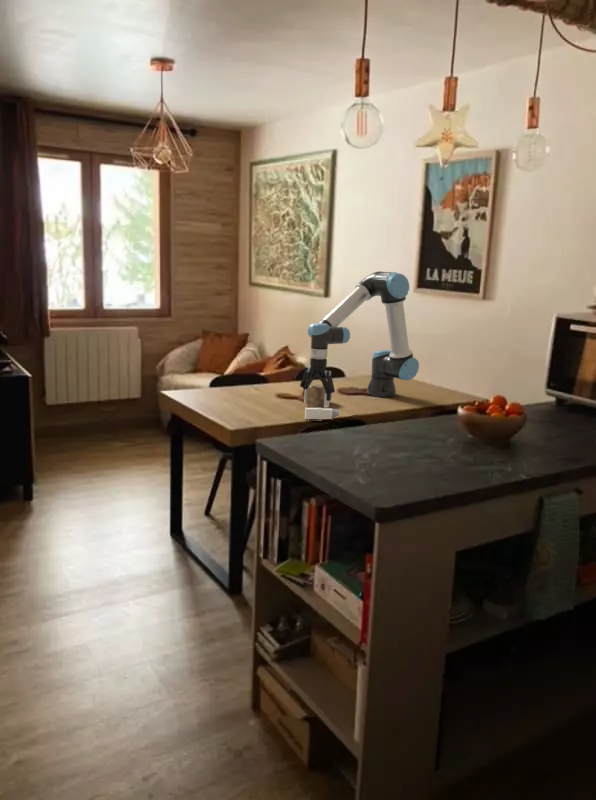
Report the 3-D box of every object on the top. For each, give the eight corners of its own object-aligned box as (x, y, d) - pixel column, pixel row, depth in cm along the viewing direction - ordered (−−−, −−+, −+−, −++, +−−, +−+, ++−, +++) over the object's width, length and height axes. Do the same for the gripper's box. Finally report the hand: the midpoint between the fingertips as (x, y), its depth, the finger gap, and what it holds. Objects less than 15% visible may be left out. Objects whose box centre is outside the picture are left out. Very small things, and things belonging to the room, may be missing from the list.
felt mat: (329, 408, 315) (329, 408, 315) (357, 415, 306) (357, 414, 306) (310, 413, 305) (311, 412, 304) (339, 420, 295) (340, 419, 295)
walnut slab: (318, 408, 316) (320, 385, 314) (324, 409, 314) (326, 386, 311) (306, 411, 309) (308, 387, 307) (313, 412, 307) (314, 388, 305)
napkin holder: (298, 420, 293) (298, 408, 292) (310, 415, 303) (310, 403, 302) (329, 426, 286) (329, 413, 285) (340, 421, 296) (341, 408, 295)
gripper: (293, 355, 310) (291, 401, 315) (334, 362, 296) (332, 410, 301) (303, 353, 316) (301, 399, 321) (344, 360, 302) (341, 408, 307)
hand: (316, 405), depth 311 cm, fingers open, 11 cm apart
